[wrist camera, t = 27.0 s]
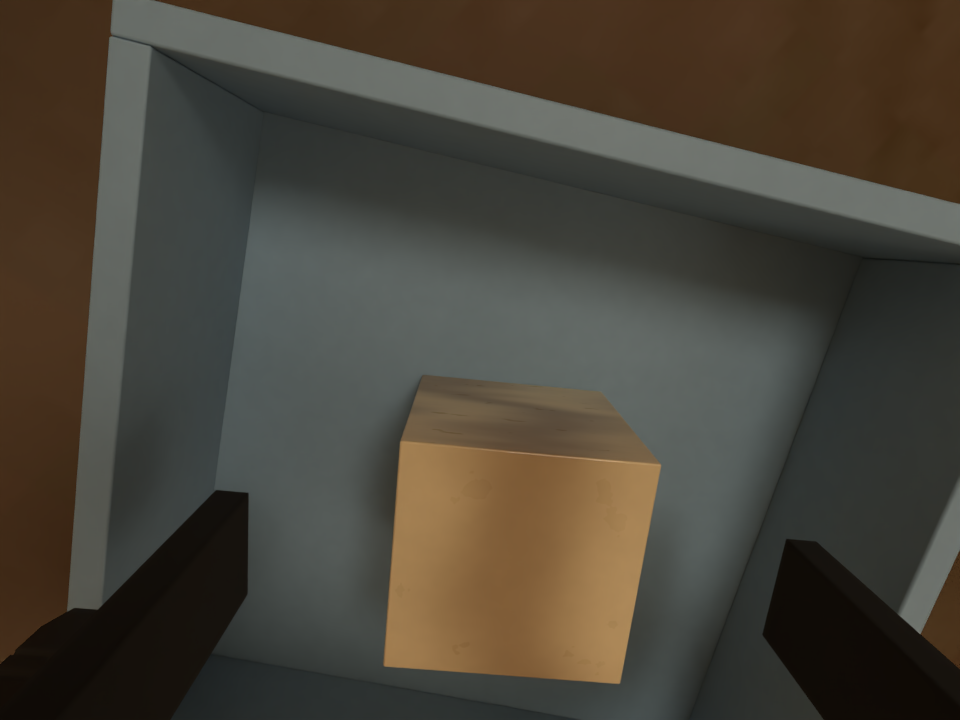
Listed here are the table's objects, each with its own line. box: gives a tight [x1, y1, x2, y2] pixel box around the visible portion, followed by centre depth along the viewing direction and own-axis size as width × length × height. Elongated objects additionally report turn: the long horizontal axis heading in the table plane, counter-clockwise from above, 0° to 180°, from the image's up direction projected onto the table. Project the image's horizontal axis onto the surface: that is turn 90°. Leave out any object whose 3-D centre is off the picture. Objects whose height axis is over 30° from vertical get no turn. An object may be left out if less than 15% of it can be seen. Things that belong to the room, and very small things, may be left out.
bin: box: [67, 0, 960, 720], centre depth 16 cm, size 21×21×6 cm
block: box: [383, 375, 661, 684], centre depth 16 cm, size 6×6×6 cm
